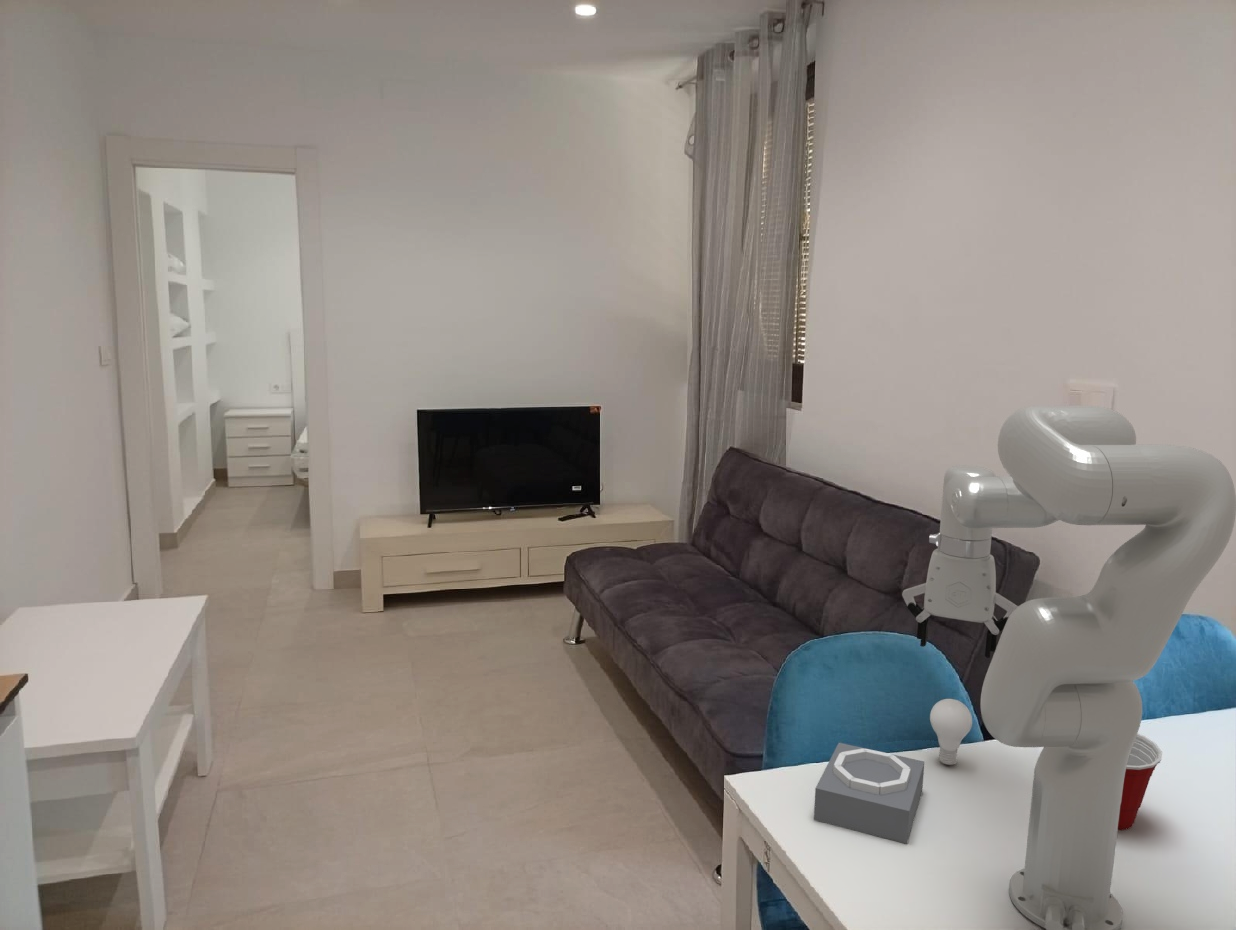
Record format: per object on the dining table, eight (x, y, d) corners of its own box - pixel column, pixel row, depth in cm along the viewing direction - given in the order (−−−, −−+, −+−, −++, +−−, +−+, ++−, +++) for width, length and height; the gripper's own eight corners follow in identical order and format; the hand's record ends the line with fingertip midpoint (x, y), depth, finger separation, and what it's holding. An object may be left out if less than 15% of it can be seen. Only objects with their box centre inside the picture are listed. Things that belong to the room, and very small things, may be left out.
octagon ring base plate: (906, 843, 123) (909, 803, 122) (813, 819, 129) (815, 780, 128) (924, 782, 139) (927, 745, 138) (841, 762, 145) (843, 727, 144)
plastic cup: (1057, 819, 129) (1065, 742, 127) (1082, 790, 137) (1090, 718, 135) (1140, 851, 122) (1150, 771, 120) (1162, 819, 129) (1172, 743, 127)
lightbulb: (966, 757, 147) (971, 694, 145) (970, 776, 141) (975, 711, 139) (925, 751, 148) (930, 690, 146) (928, 770, 142) (932, 706, 140)
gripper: (902, 544, 138) (895, 647, 142) (1024, 559, 131) (1013, 668, 134) (910, 532, 145) (902, 631, 148) (1026, 546, 138) (1015, 650, 141)
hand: (955, 649), depth 141 cm, fingers open, 9 cm apart
